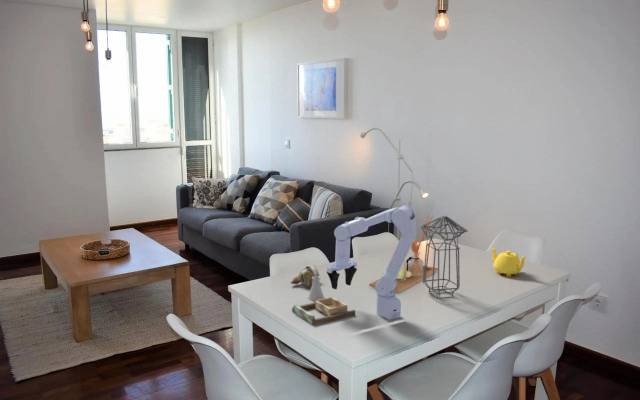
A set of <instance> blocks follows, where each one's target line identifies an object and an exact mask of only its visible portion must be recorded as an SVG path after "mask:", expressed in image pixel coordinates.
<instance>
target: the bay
mask: <svg viewBox="0 0 640 400" xmlns="http://www.w3.org/2000/svg"><path fill="white" fill-rule="evenodd" d="M311 309H315V301H314V302H311V303H306V304H301V305H298V304H294V305H293V306H292V309H291V311H292V313H294V314H295V315H296V316H299V317H300V318H302V319H303V320H305V321H307V322H308V323H309V324H311V325H312V326H316V325H320V324H321V325H322V324H325V323H328V322H332V321H337V320H341V319H345V318H349V317H353V316H356V310H355V309H350V310H347V311H346V312H342V313H338V314H334V315H330V316H326V315H325V316H322V317H321V316H320V317H317V318H316V316H315V315H314V314H313V313H311V312H309V311H307V310H311Z"/></svg>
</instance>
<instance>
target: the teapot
mask: <svg viewBox="0 0 640 400" xmlns="http://www.w3.org/2000/svg"><path fill="white" fill-rule="evenodd" d="M490 249H491V250H492V258H491V260H492V263H493V269H494V270H495V271H496V274H497V275H501V274H506V277H507V278H511V277H512V275H515V276H517V275H518V274H519V273H521V270H522V269H523V268H524V265H525V259H526V258H527V257H528V255H523V256H521V259H520V258H519V255H518V253H516V252H512V251H511V250H505V252H500V253H499V254H498V256H497V251H496V249H495V248H493V247H490Z"/></svg>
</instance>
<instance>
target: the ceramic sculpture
mask: <svg viewBox="0 0 640 400" xmlns="http://www.w3.org/2000/svg"><path fill="white" fill-rule="evenodd" d="M315 276H317V277H320V273H319V270H318V268H317V267H316V265H315V264H314V265H312V266H307V265H306V266H305V267H304V269H302V270H301V271H300V272H299V274H298V275H297V276H295V277H294V278H293V279H292V281H290V282H289V283H290V284H293V285H298V284H302V285H303V286H307V287H310V288H311V287H312V283H313V279H312V277H315Z"/></svg>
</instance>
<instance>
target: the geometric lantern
mask: <svg viewBox="0 0 640 400" xmlns="http://www.w3.org/2000/svg"><path fill="white" fill-rule="evenodd" d="M431 223H433V224H432V225H429V224H431ZM447 226H448V229H449V230H450V232H448V229H447ZM420 228H421V230H422V232H423V234H424V235H425V236H426V240H429V239H428V238H430V240H429V241H428V243H426V246H425V252H424V253H425V255H424V265H423V277H422V283H423V285H425V286H426V287H427V288H428V293H429V294H430V295H432V296H433V297H434V298H436V299H446V298H448V299H449V298H454V293H455V292H456V291H458V290H459V289H460V282H461V281H460V246H459V237H461V236H462V235H463V234H465V233H468V232H469V230H468V229H466V228H465V227H463V226H461V225H460V224H459V223H457V222H456V221H455V220H453V219H452V218H450V217H448V216H447V215H441V216H440V217H438V218H435V219H434V220H431V221H430V222H426V223H425V224H422V225H421V226H420ZM425 230H426V231H425ZM438 230H439V231H438ZM444 230H445V231H444ZM455 230H456V231H455ZM442 231H443V232H442ZM431 233H432V234H431ZM435 234H437V235H439V236H440V237H441V239H442V240H443V242H435V243H434V240H433V237H434V235H435ZM442 234H444V235H445V236H446V237H445V236H444V235H442ZM450 234H452V235H453V236H452V238H449V237H448V236H449V235H450ZM455 239H456V240H457V241H456V240H455ZM448 241H450V242H448ZM452 242H454V244H452ZM439 244H440V246H439V247H438V248H437V247H436V246H435V245H439ZM443 244H445V245H444V247H445V248H444V249H443V248H442V249H441V251H444V259H443V269H442V270H443V273H442V278H440V248H441V247H443ZM431 245H432V246H431ZM447 245H448V248H447ZM451 246H453V247H455V248H451ZM430 248H431V249H433V250H434V251H433V263H432V265H433V266H432V267H433V268H432V278H431V279H427V273H428V264H429V263H428V262H429V255H430ZM436 251H437V252H436ZM447 251H448V279H447V278H445V271H446V269H445V268H446V260H447V259H446V257H447ZM451 251H455V262H456V263H455V268H456V283H455V282H454V281H452V280H451V279H450V278H451ZM436 253H437V278H436V279H435V266H436ZM434 281H435V282H436V281H437V286H434ZM440 281H442V285H440ZM444 281H447V282H446V284H445V283H444ZM428 282H431V286H430V285H429V284H428ZM449 282H450V283H452V284H453V285H455V286H456V287H447V286H448V284H449ZM444 284H445V285H444ZM447 290H449V291H447ZM432 292H433V293H436V295H435V294H433V293H432ZM442 294H443V295H444V294H449V296H443V297H441V295H442Z"/></svg>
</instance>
